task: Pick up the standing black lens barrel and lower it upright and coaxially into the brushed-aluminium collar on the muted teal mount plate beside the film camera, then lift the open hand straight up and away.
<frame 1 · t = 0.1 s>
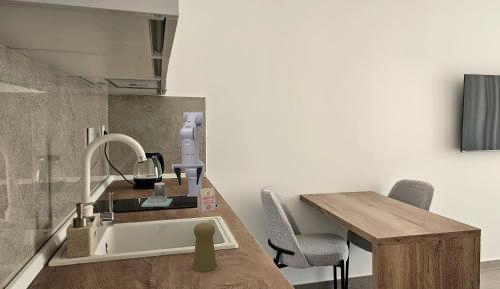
hand: (188, 184, 154), 10 cm above the worktop, fingers open, 7 cm apart
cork: (204, 267, 86), on the worktop
mount plate: (157, 203, 162), on the worktop
lens barrel: (160, 199, 173), on the worktop
collar mount: (157, 199, 162), on the mount plate, point 1 cm above the worktop
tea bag: (206, 211, 146), on the worktop
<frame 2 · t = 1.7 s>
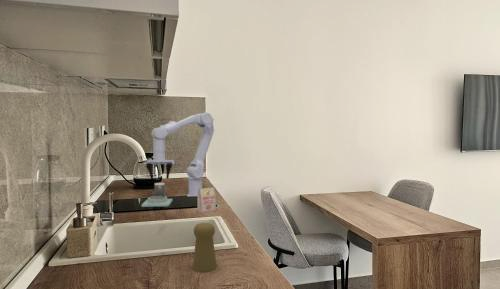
hand: (159, 178, 172), 10 cm above the worktop, fingers open, 7 cm apart
nothing on the worktop moved.
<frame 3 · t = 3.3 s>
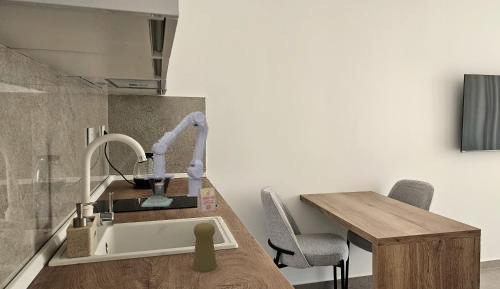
hand: (159, 193, 173), 3 cm above the worktop, fingers closed on lens barrel, 5 cm apart
lens barrel: (160, 199, 173), on the worktop, touching gripper
everything else where it was.
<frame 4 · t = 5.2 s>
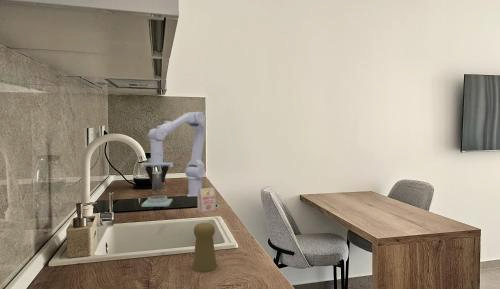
hand: (157, 182, 164), 10 cm above the worktop, fingers closed on lens barrel, 5 cm apart
lens barrel: (157, 188, 164), point 7 cm above the worktop, touching gripper
everything else where it was.
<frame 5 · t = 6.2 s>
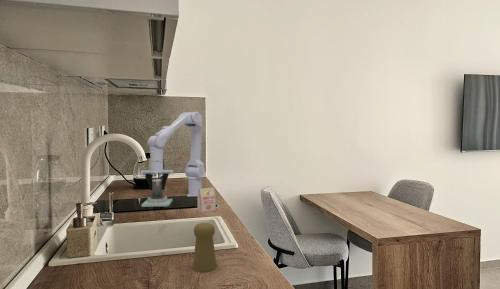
hand: (157, 189, 162), 7 cm above the worktop, fingers closed on lens barrel, 5 cm apart
lens barrel: (157, 196, 162), point 3 cm above the worktop, touching gripper
everything else where it was.
when the fingers open (5 cm above the worktop, at t = 7.2 s): lens barrel stays where it is, resting on mount plate.
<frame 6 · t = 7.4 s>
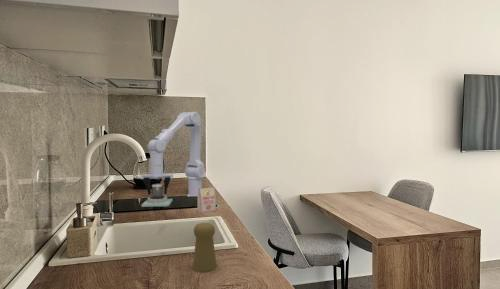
hand: (157, 193, 162), 5 cm above the worktop, fingers open, 7 cm apart
lens barrel: (157, 201, 162), point 1 cm above the worktop, touching mount plate
everything else where it was.
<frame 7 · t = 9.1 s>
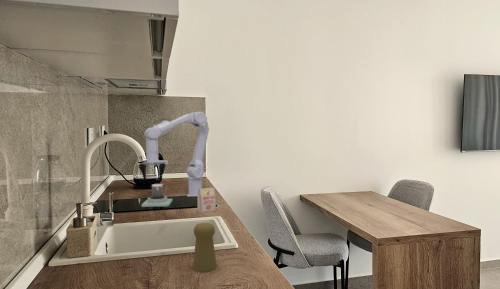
hand: (152, 179, 170), 10 cm above the worktop, fingers open, 7 cm apart
nothing on the worktop moved.
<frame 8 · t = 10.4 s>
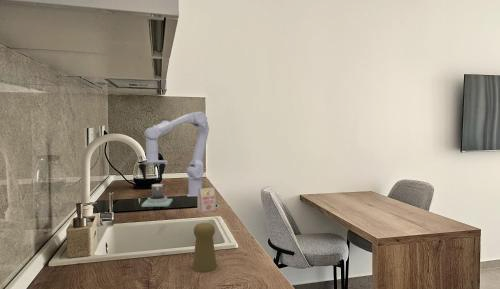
hand: (152, 179, 170), 10 cm above the worktop, fingers open, 7 cm apart
nothing on the worktop moved.
at the end: lens barrel 0.1 cm off-centre on the collar mount, point 1.0 cm above the collar mount's base; lens barrel tilted 0°; the gripper is holding nothing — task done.
